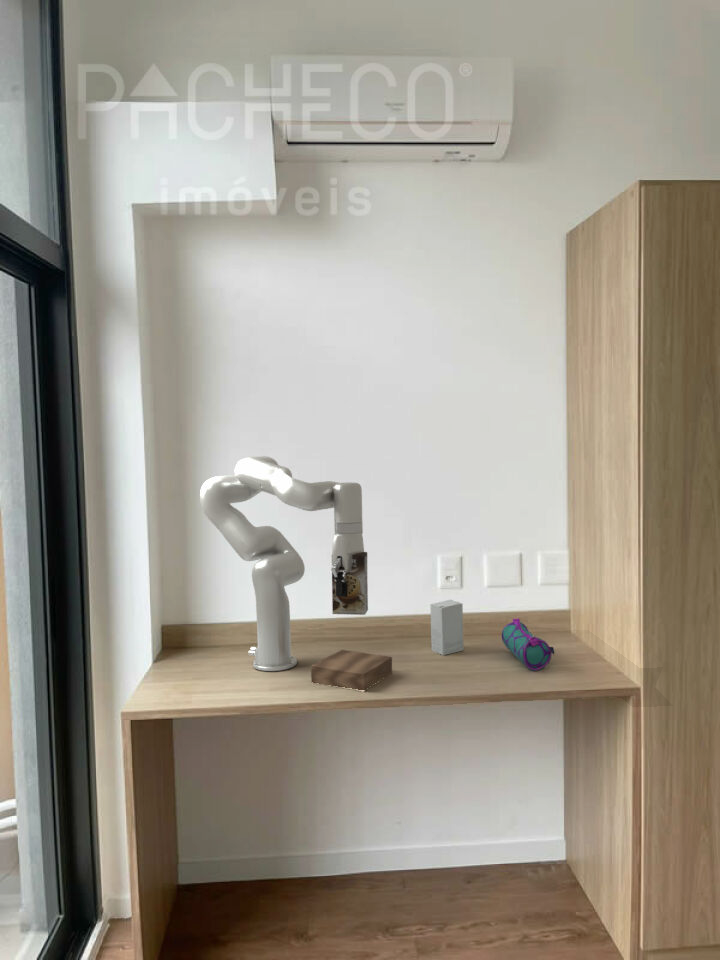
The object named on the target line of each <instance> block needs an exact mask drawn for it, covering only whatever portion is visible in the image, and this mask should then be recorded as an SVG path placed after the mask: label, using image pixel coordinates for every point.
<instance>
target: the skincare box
mask: <svg viewBox="0 0 720 960" xmlns="http://www.w3.org/2000/svg"><path fill="white" fill-rule="evenodd" d="M463 609H464V608H463V603H462V602H459V601H455V600H454V599H453V600H452V599H448V600H444V601H439V602H435V603H434V602H433V603H430V632H431V633H430V634H431V636H430V637H431V639H430V640H431V651H432V652H434V653H436V654H438V653H439V655H440V654H441V655H440V656H446V655H450V654H453V653H457V652H461V651H464V618H463V617H464V616H463V613H464V611H463Z"/></svg>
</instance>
